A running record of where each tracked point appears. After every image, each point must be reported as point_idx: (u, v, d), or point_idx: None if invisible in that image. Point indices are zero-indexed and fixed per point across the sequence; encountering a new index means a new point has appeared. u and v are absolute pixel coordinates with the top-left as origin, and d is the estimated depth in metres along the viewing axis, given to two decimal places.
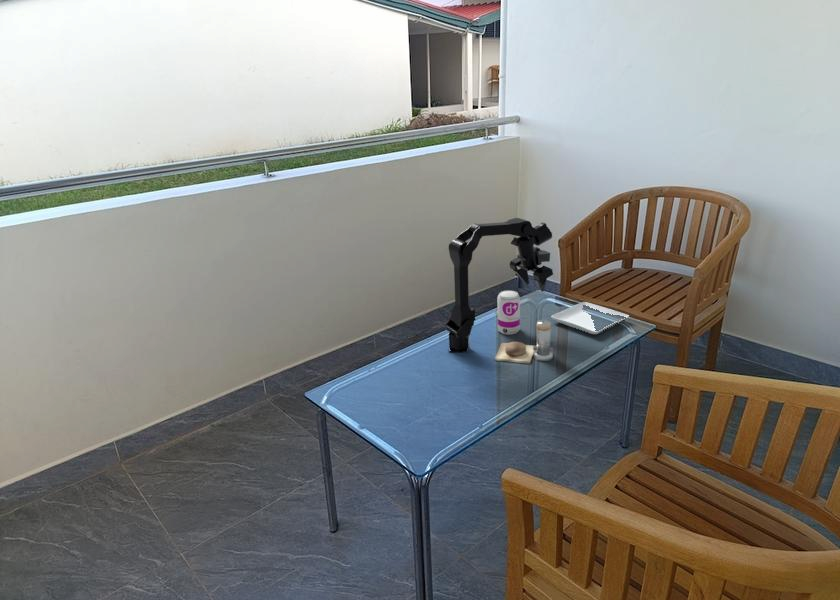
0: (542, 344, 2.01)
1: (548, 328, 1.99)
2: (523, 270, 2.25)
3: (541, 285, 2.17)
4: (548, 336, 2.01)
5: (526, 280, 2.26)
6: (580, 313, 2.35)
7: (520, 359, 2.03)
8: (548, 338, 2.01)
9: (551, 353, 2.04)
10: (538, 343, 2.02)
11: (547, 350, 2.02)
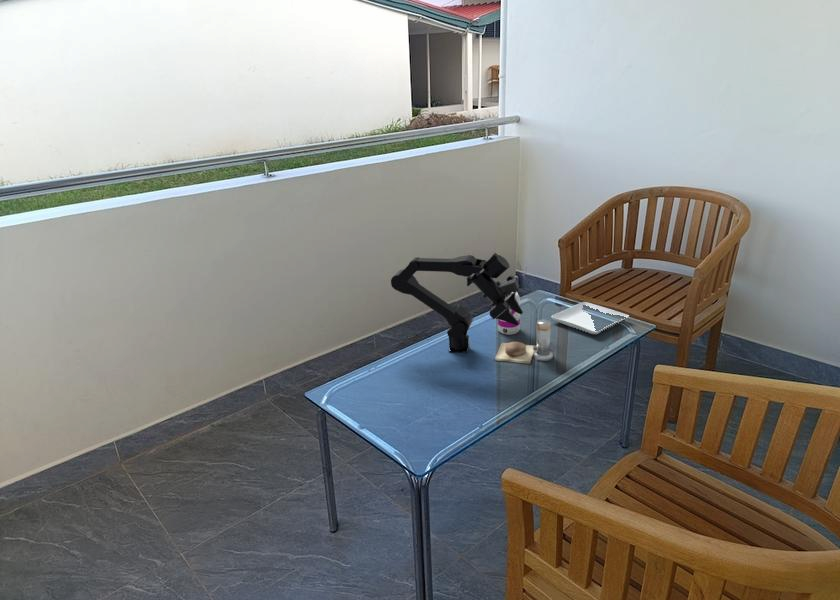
0: (542, 344, 2.01)
1: (548, 328, 1.99)
2: (510, 301, 2.07)
3: (508, 320, 1.98)
4: (548, 336, 2.01)
5: (518, 309, 2.07)
6: (580, 313, 2.35)
7: (520, 359, 2.03)
8: (548, 338, 2.01)
9: (551, 353, 2.04)
10: (538, 343, 2.02)
11: (547, 350, 2.02)
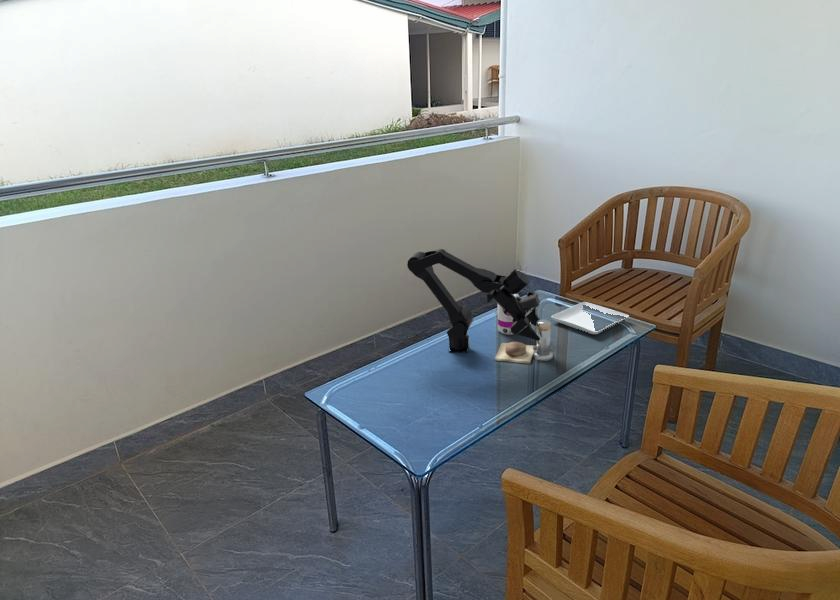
0: (542, 344, 2.01)
1: (548, 328, 1.99)
2: (530, 316, 2.07)
3: (529, 335, 1.98)
4: (548, 336, 2.01)
5: None
6: (580, 313, 2.35)
7: (520, 359, 2.03)
8: (548, 338, 2.01)
9: (551, 353, 2.04)
10: (538, 343, 2.02)
11: (547, 350, 2.02)
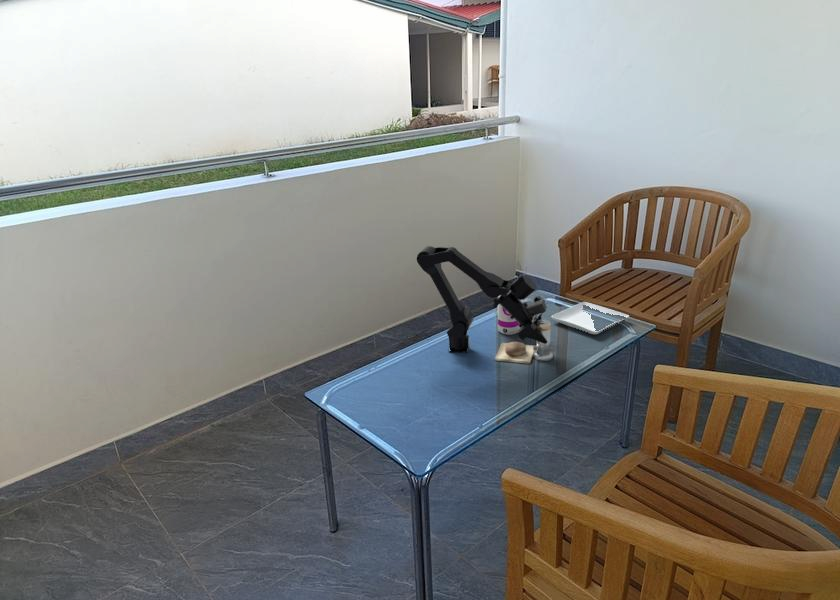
0: (542, 344, 2.01)
1: (548, 328, 1.99)
2: None
3: (537, 338, 2.00)
4: (548, 336, 2.01)
5: None
6: (580, 313, 2.35)
7: (520, 359, 2.03)
8: (548, 338, 2.01)
9: (551, 353, 2.04)
10: (538, 343, 2.02)
11: (547, 350, 2.02)
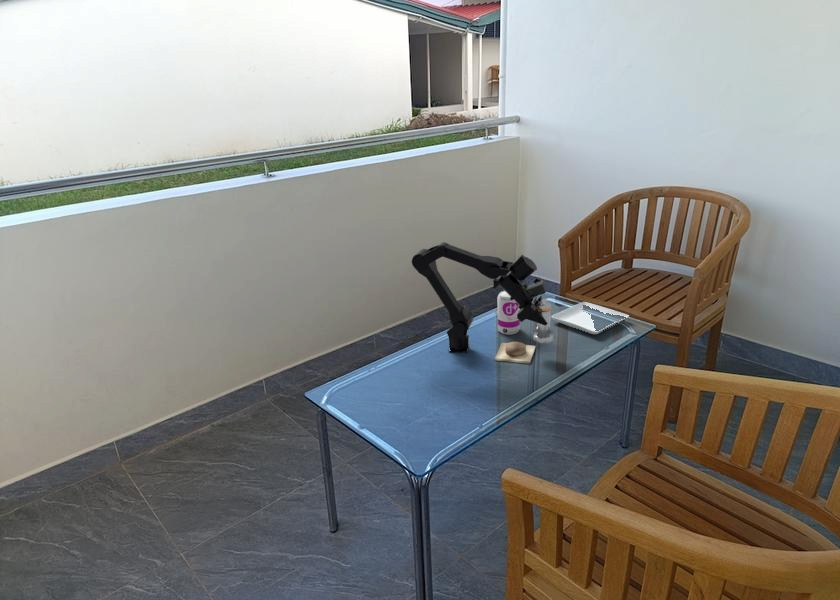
0: (542, 326, 1.99)
1: (548, 309, 1.97)
2: (536, 305, 2.02)
3: (537, 320, 1.97)
4: (548, 318, 1.98)
5: None
6: (580, 313, 2.35)
7: (520, 359, 2.03)
8: (548, 320, 1.98)
9: (551, 335, 2.01)
10: (538, 325, 2.00)
11: (547, 332, 2.00)
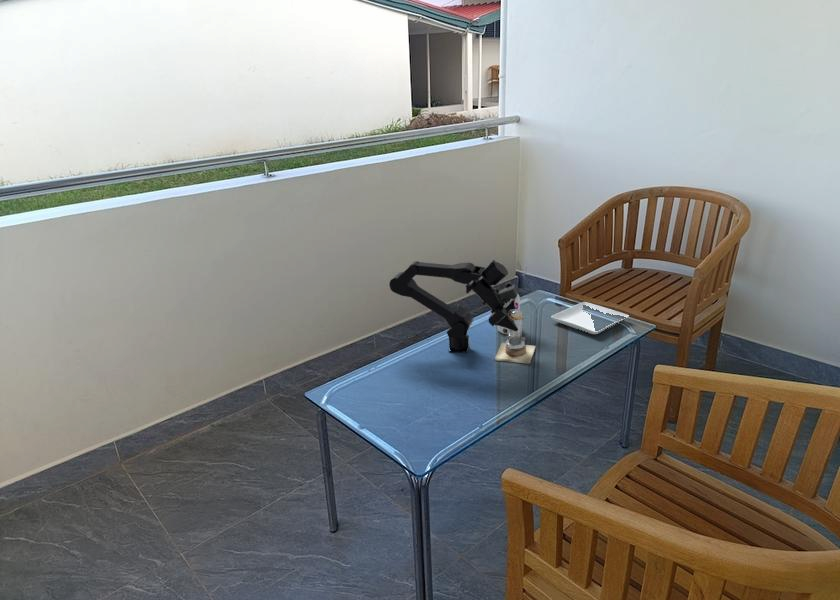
0: (513, 333, 2.03)
1: (519, 317, 2.01)
2: (509, 308, 2.08)
3: (507, 326, 2.00)
4: (519, 325, 2.03)
5: None
6: (580, 313, 2.35)
7: (520, 359, 2.03)
8: (519, 327, 2.03)
9: (523, 342, 2.06)
10: (510, 332, 2.04)
11: (519, 339, 2.04)
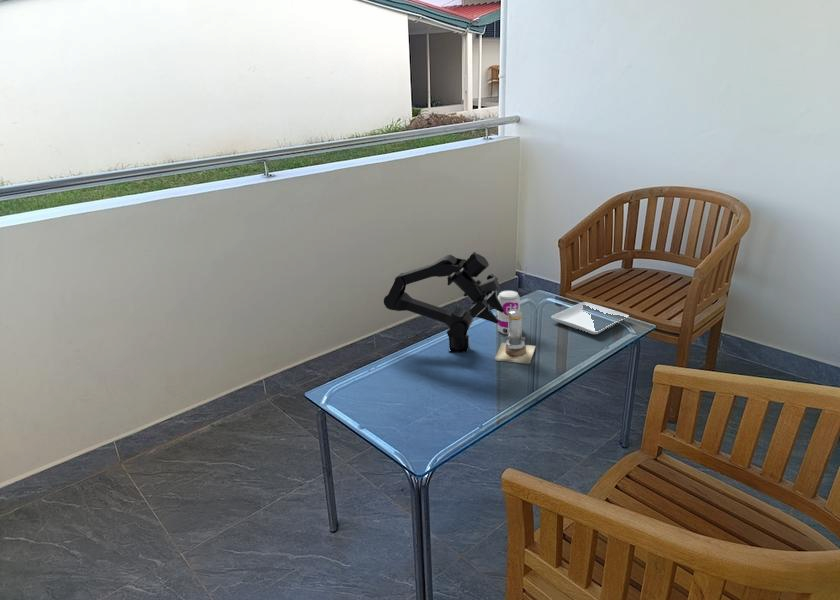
0: (513, 333, 2.03)
1: (519, 317, 2.01)
2: (491, 299, 2.09)
3: (488, 318, 2.00)
4: (519, 325, 2.03)
5: (499, 308, 2.09)
6: (580, 313, 2.35)
7: (520, 359, 2.03)
8: (519, 327, 2.03)
9: (523, 342, 2.06)
10: (510, 332, 2.04)
11: (519, 339, 2.04)
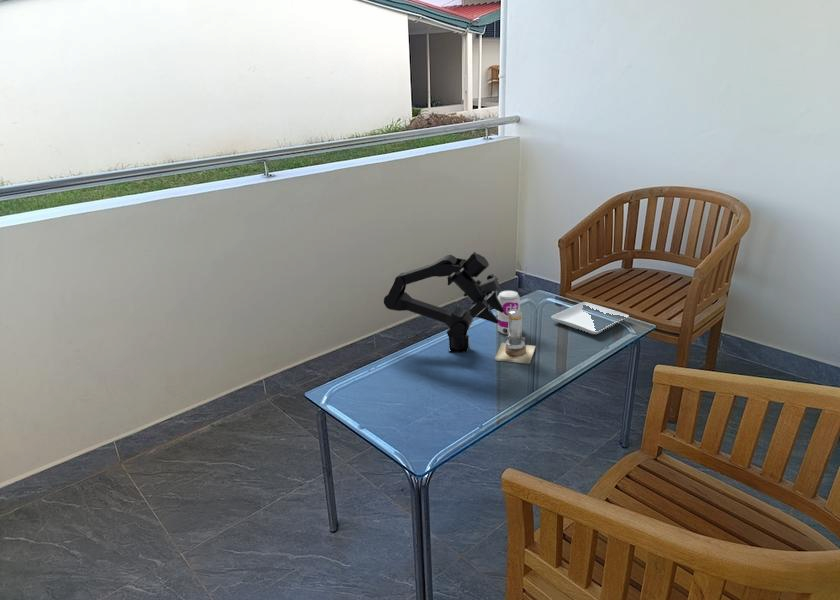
0: (513, 333, 2.03)
1: (519, 317, 2.01)
2: (491, 299, 2.09)
3: (488, 318, 2.00)
4: (519, 325, 2.03)
5: (499, 308, 2.09)
6: (580, 313, 2.35)
7: (520, 359, 2.03)
8: (519, 327, 2.03)
9: (523, 342, 2.06)
10: (510, 332, 2.04)
11: (519, 339, 2.04)
